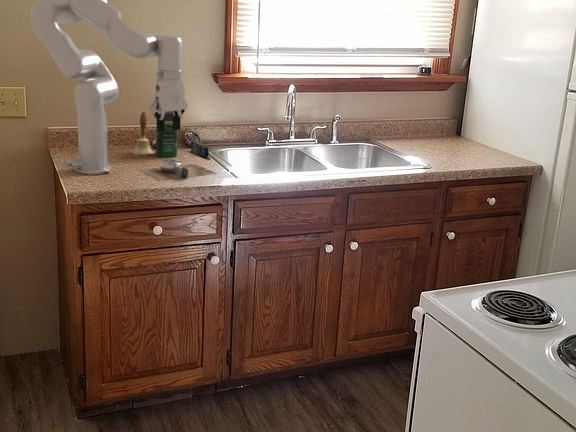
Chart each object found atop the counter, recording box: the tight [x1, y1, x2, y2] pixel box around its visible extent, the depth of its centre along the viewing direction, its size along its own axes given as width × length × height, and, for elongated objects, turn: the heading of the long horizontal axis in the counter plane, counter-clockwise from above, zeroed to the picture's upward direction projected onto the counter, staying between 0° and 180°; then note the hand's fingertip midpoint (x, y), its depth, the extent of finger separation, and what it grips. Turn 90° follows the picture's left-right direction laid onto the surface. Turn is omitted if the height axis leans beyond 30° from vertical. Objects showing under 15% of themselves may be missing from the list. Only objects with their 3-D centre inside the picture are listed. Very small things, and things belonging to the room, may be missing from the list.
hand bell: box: [131, 111, 154, 156], centre depth 269 cm, size 8×8×16 cm
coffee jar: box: [155, 111, 179, 159], centre depth 264 cm, size 10×8×19 cm
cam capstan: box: [160, 158, 189, 178], centre depth 241 cm, size 14×7×3 cm, turn 37°
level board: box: [138, 163, 219, 182], centre depth 244 cm, size 23×15×1 cm, turn 127°
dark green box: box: [190, 140, 211, 160], centre depth 273 cm, size 5×3×15 cm
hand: (168, 129), depth 231 cm, fingers open, 6 cm apart
